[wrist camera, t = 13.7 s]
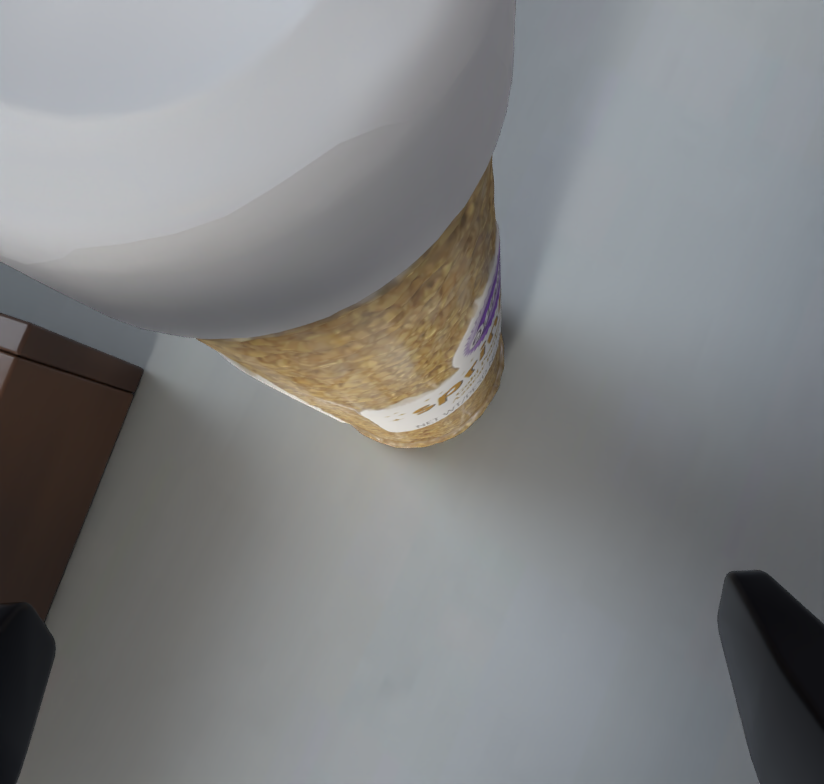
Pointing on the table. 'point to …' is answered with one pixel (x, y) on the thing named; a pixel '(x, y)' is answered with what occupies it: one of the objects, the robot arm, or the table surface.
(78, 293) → the sprinkles bottle
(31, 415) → the crate
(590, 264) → the table surface
